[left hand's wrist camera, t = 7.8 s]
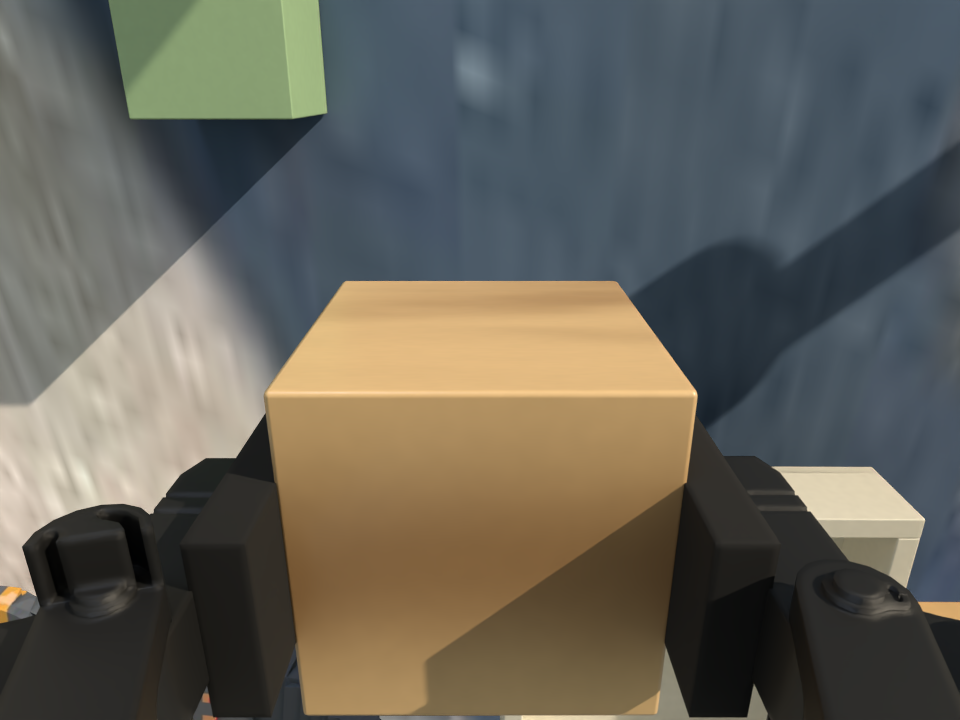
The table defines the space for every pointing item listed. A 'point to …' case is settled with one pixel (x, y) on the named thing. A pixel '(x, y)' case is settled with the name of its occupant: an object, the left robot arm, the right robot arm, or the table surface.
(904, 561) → the tray
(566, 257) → the table surface
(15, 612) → the toy
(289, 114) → the green block
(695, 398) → the beech block
